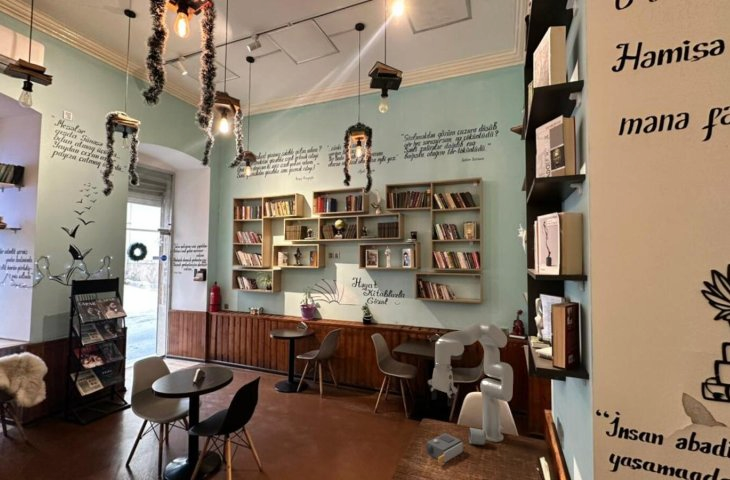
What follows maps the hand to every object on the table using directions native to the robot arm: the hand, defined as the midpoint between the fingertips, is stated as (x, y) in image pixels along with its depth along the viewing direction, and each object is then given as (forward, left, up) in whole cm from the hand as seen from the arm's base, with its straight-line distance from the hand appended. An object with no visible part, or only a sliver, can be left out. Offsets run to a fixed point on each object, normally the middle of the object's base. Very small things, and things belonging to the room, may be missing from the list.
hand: (441, 402), depth 163 cm
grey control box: (-10, -6, -29) cm, 31 cm away
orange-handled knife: (-8, 0, -28) cm, 29 cm away
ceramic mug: (-33, -1, -29) cm, 44 cm away
